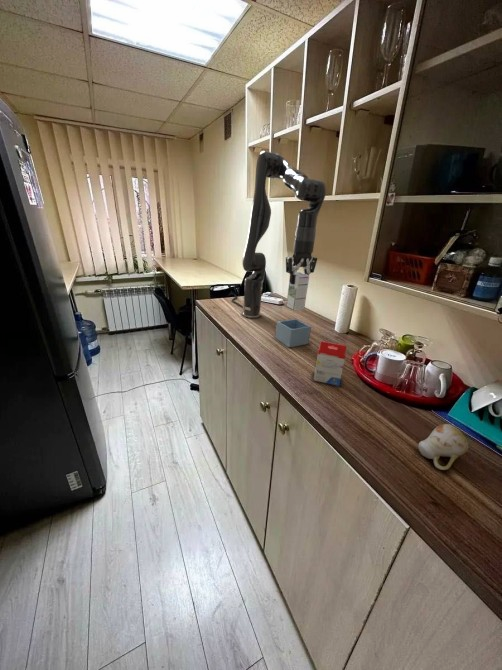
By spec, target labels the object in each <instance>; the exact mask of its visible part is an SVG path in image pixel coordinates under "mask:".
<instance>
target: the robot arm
mask: <svg viewBox="0 0 502 670" xmlns="http://www.w3.org/2000/svg"><path fill="white" fill-rule="evenodd" d="M267 178H268V179H278V180H282V182H283V183H282V184H283V185H284V186H285V187H286V188H287V189H288V190H290V191H291V192H292V193H293V194H294V197H295V198H296V199H298V200H299V201H302V202H307V203H309V204H308V205H307V207H305V208H301V209H300V210H299V211H298V213H297V221H296V229H295V234H294V240H293V247H292V252H293V254H292V256H286V257H285V272H286V273H287V274H289V281H288V283H289V282H290V284H295V277H296V275H295V274H296V272H298V271H299V269H300V268H302V269H303V273H304V274H307V275H309V276H310V274H312V273H315V269H316V266H317V262H318V257H316V256H312V254H313V252H314V248H315V247H314V246H315V240H316V230H317V229H316V227H317V222H318V216H319V213H320V211H321V208H322V206H323V203H324V201H325V199H326V194H327V187H326V184H325V182H324V181H323V180H319V179H313V178H309V177H308V175H307V174H305V173H304V172H302V171H301V170H299V169H297V168H296V167H294V166H292V165H291V164H290V163H289V162H288V161H287V159H285V158H284V156H282V155H281V154H279V153H276V152H272V151H267V150H262V151H261V152H260V153H259V154H258V156H257V160H256V165H255V177H254V191H253V199H252V204H251V210H250V217H249V218H250V219H249V225H248V232H247V239H246V243H245V247H244V251H243V255H242V268H243V270H244V271H245V272H252V273H251V274H250V275H249V276H247V277H246V278H245V279H244V292H243V303H242V305H241V303H238V302H236V301H235V300H236V299H238V296H237V295H236V294H235V293H233V292H230V293H229V296H231V295H233V296H234V298H232V299H231V302H233V303H234V304H237V305H239V307H240V308H242V316H243V317H245V318H248V319H249V318H250V319H256V318H260V317H261V308H262V307H261V306H262V295H263V283H264V280H265V274H266V273H265V272H266V266H267V258H266V255H265V254H264V253H263V252H256V250H257V246H258V244H259V242H260V241H261V240H262V238H263V237H264V235H266V233H267V231H268V229H269V227H270V222H271V216H272V209H271V204H270V201H269V198H268V196H267V191H266V190H267V189H266V187H267V185H266V184H267Z"/></svg>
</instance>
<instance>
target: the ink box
mask: <svg viewBox="0 0 502 670" xmlns="http://www.w3.org/2000/svg"><path fill="white" fill-rule="evenodd" d="M347 348H348V346H347V345H345V344H340V343H334V342H328V341H323V340H322V341H321V340H320V343H319V347H318V351H317V357H316V363H315V369H314V375H313V381H315V382H319V383H323V384H329V385H333V386H338V387H339V386H340V383H341V379H342V375H343V370H344V364H345V360H346V354H347Z"/></svg>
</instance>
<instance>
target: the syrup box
mask: <svg viewBox="0 0 502 670" xmlns="http://www.w3.org/2000/svg"><path fill="white" fill-rule="evenodd" d="M295 275H296V277H295V284H290V282H289V281H288V289H287V296H286V305H285V307H286V308H288V309H290V310H292V311H295V312H296V311H304V310H305V308H306V300H307V294H308V287H309V281H310V274H309V275H307V274H305V273H304V272H301V271H300V272H299V271H297V272H296V274H295Z"/></svg>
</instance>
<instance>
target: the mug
mask: <svg viewBox="0 0 502 670" xmlns="http://www.w3.org/2000/svg"><path fill="white" fill-rule="evenodd" d="M418 451H419V453H420V454H421V455H422V456H423V457H425V458H426V459H429V460H433V466H434V467H435V468H436V469H438V470H440V471H447V470H449V469H450V468H451V467H452V465H453V463H454V462H455V461H456V460H457V459H458V458H459V457H460V456H463V455H464V454H466V453H467V452H468V451H469V443H468V441H467V439H466V437H465V435H464V434H463V433H462V431H460V430H459V429H458V428H456V427H455V426H454V425H452V424H449V423H444V424H440V425H438V426H436V427H435V428H434V429H433V430H432V431H431V433H430V434H429V436H428V437H427V438H425V439H424V440H421V441H420V442H419V443H418ZM440 457H449V461H448V463H447V464H446V465H445V466H443V465H440V463H439V459H440Z"/></svg>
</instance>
